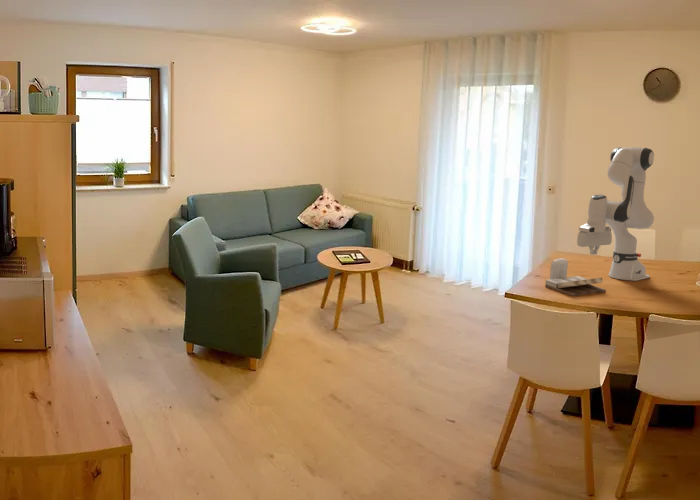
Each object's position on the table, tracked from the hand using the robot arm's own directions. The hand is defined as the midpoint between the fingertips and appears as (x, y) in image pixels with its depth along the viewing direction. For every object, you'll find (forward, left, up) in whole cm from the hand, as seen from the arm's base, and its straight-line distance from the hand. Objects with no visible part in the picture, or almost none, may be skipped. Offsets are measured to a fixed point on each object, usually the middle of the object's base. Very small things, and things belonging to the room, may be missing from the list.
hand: (593, 254), depth 351 cm
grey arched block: (+1, -22, -19) cm, 29 cm away
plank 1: (+11, -1, -16) cm, 20 cm away
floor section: (+5, -5, -19) cm, 20 cm away
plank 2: (0, -1, -16) cm, 16 cm away
